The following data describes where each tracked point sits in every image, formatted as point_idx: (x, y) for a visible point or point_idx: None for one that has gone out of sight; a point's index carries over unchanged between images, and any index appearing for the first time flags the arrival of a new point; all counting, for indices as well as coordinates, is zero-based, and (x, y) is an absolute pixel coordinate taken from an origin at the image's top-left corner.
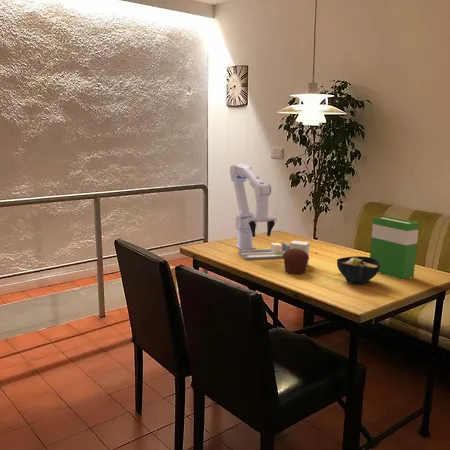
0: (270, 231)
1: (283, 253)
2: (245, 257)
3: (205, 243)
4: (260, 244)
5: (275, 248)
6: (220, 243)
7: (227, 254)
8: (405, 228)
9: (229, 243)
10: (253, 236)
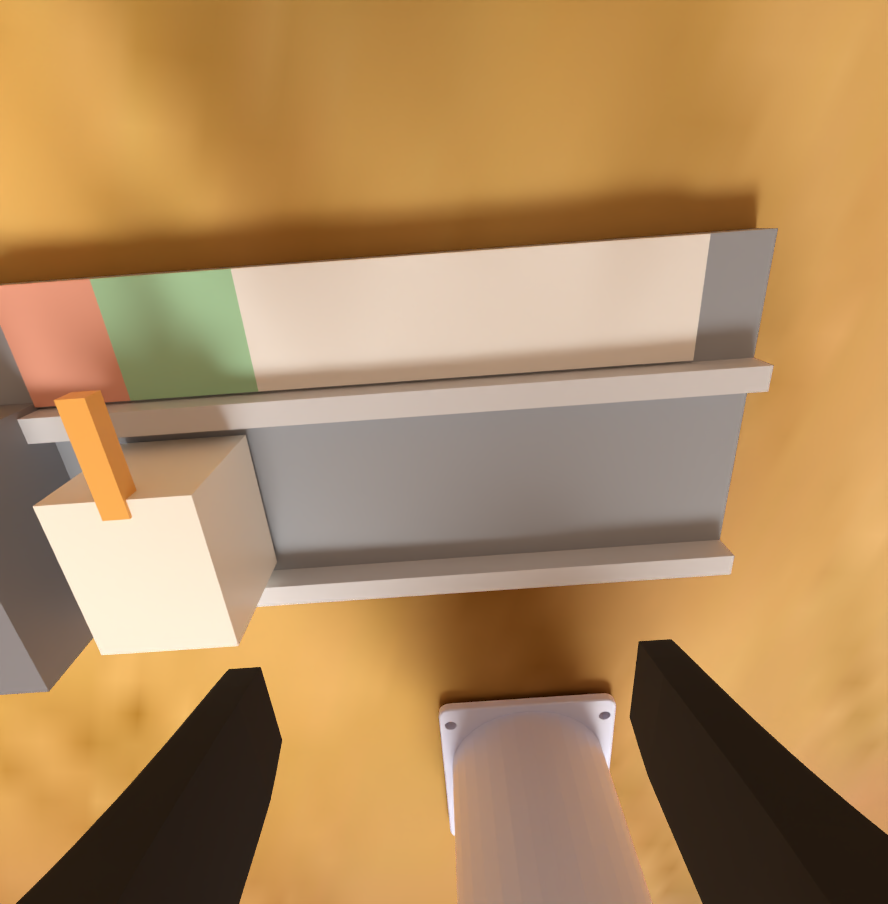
0: (137, 799)
1: None
2: (765, 252)
3: None
4: (336, 834)
5: (194, 468)
6: None
7: (849, 530)
8: None
9: None
10: (684, 652)
